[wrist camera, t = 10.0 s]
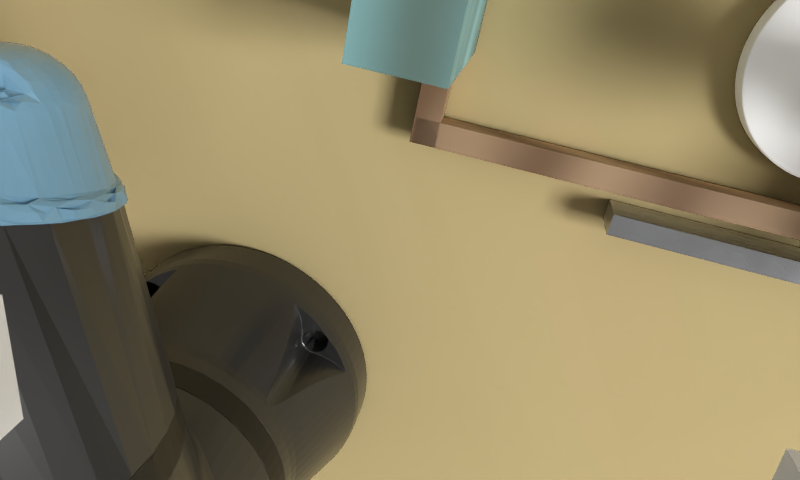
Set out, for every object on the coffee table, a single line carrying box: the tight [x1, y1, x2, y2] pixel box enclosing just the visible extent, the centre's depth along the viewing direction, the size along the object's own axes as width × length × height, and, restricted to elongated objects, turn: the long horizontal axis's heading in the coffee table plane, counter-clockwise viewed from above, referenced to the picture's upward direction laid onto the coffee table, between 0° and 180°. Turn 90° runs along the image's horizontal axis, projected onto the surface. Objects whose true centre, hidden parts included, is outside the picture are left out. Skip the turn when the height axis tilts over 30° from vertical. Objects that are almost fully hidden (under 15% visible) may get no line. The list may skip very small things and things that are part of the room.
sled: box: [342, 0, 800, 240], centre depth 23 cm, size 25×14×9 cm, turn 78°
